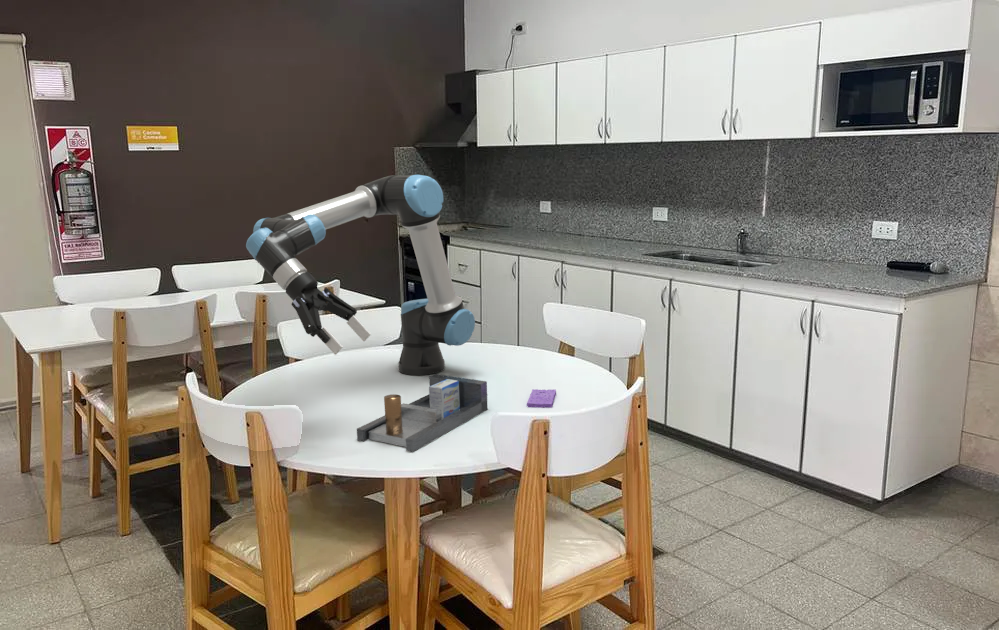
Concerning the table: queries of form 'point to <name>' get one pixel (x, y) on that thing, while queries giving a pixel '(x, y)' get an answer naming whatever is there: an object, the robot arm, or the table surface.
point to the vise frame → (470, 406)
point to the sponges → (541, 398)
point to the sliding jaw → (403, 421)
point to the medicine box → (445, 397)
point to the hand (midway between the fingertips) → (353, 344)
